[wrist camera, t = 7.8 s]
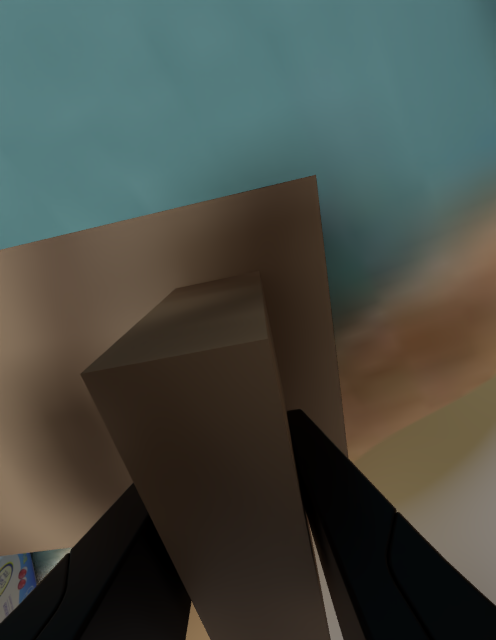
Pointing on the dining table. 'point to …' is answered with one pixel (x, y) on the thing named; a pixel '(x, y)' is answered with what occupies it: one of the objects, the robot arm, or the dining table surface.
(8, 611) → the medicine box
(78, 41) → the dining table surface
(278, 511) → the lid
